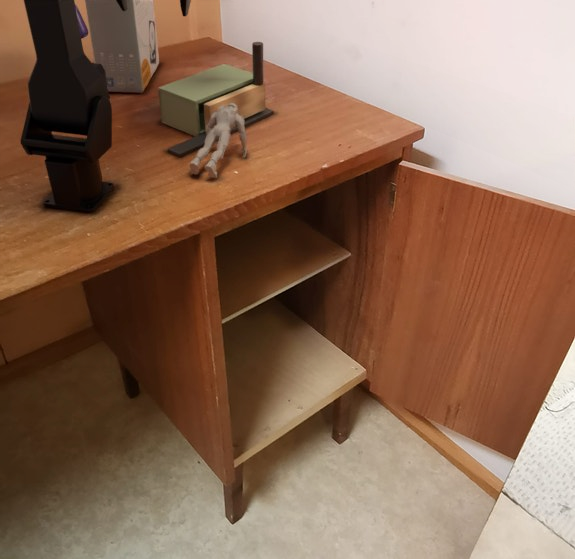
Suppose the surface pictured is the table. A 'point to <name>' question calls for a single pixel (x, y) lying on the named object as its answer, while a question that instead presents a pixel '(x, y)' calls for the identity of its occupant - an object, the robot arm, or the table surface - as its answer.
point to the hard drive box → (124, 42)
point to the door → (244, 91)
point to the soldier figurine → (220, 137)
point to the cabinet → (201, 102)
